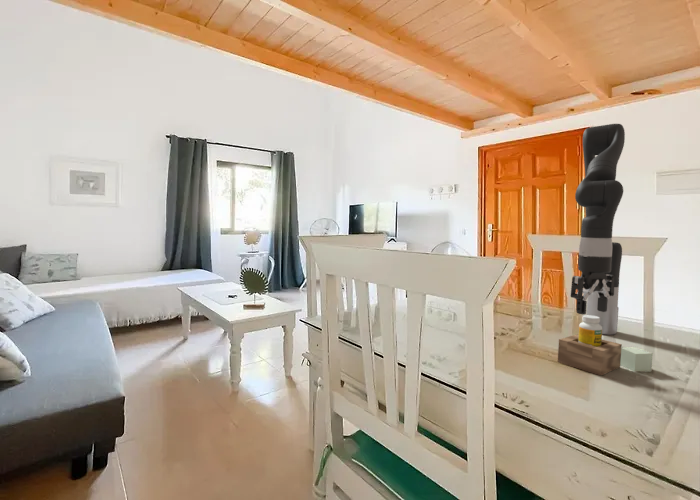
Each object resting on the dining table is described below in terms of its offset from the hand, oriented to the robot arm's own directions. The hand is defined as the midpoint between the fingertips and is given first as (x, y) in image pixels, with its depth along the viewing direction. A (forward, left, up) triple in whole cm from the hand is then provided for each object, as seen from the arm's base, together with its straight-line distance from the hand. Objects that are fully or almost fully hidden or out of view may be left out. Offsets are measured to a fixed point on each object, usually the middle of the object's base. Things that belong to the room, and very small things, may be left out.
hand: (591, 312), depth 100 cm
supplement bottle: (0, 0, -11) cm, 11 cm away
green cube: (-10, +6, -15) cm, 19 cm away
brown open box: (0, 0, -15) cm, 15 cm away
